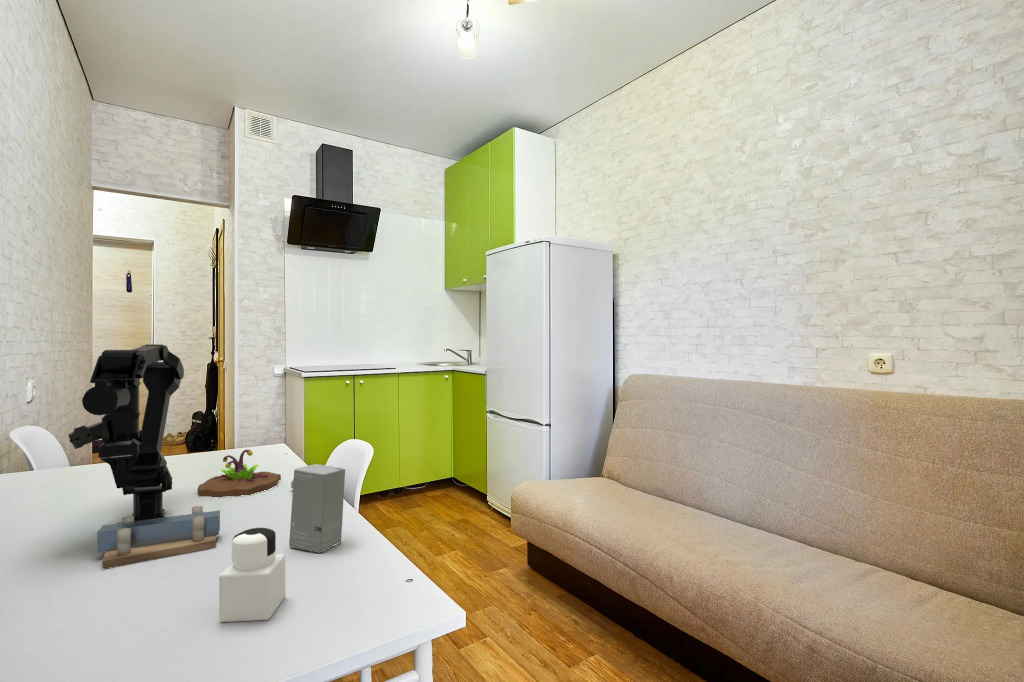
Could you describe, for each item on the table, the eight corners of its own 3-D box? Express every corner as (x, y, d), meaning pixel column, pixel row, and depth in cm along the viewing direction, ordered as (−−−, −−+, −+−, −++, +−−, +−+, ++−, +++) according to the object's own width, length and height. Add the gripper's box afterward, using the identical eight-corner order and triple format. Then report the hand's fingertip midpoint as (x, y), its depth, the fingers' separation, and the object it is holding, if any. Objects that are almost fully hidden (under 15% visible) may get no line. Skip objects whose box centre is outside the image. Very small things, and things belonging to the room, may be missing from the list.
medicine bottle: (240, 599, 82) (240, 524, 82) (286, 597, 82) (286, 523, 82) (218, 623, 75) (218, 541, 75) (268, 620, 75) (268, 539, 75)
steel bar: (220, 528, 109) (220, 510, 109) (218, 535, 105) (218, 515, 105) (103, 545, 100) (103, 525, 100) (97, 552, 96) (97, 531, 96)
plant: (257, 499, 136) (257, 457, 136) (185, 499, 136) (185, 457, 136) (289, 479, 156) (290, 442, 156) (226, 479, 156) (226, 443, 156)
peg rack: (109, 547, 103) (110, 517, 103) (212, 529, 112) (212, 502, 112) (102, 569, 93) (102, 536, 93) (216, 547, 102) (216, 517, 102)
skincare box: (288, 548, 102) (288, 469, 102) (314, 536, 109) (314, 462, 109) (321, 554, 99) (321, 473, 99) (346, 541, 105) (346, 465, 106)
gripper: (79, 407, 110) (79, 478, 110) (63, 417, 95) (63, 501, 95) (142, 403, 116) (142, 471, 116) (137, 412, 101) (137, 491, 101)
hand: (122, 482), depth 107 cm, fingers open, 9 cm apart
